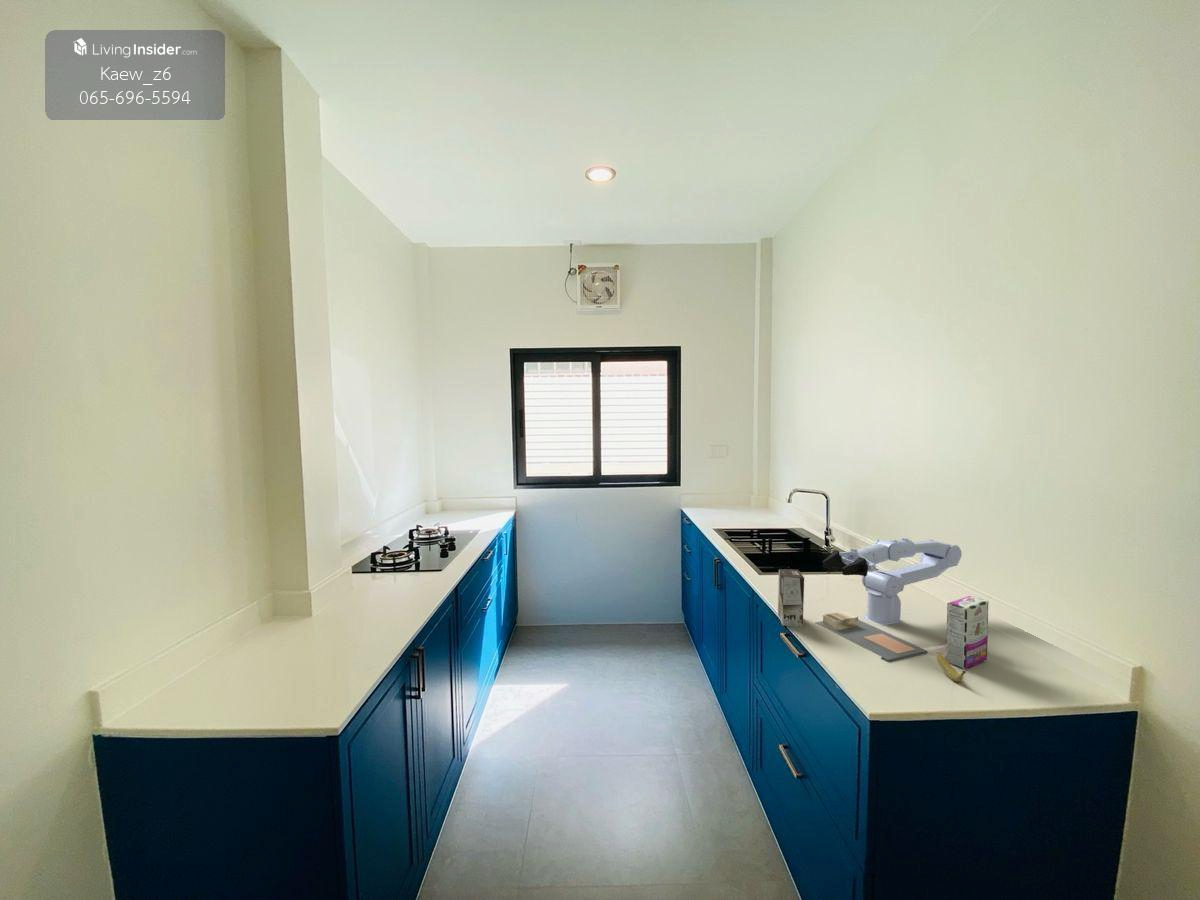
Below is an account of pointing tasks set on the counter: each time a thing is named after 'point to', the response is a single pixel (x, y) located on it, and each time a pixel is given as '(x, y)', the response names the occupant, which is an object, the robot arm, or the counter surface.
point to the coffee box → (791, 597)
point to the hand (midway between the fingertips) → (833, 568)
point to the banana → (949, 668)
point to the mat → (878, 641)
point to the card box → (840, 620)
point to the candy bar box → (967, 632)
